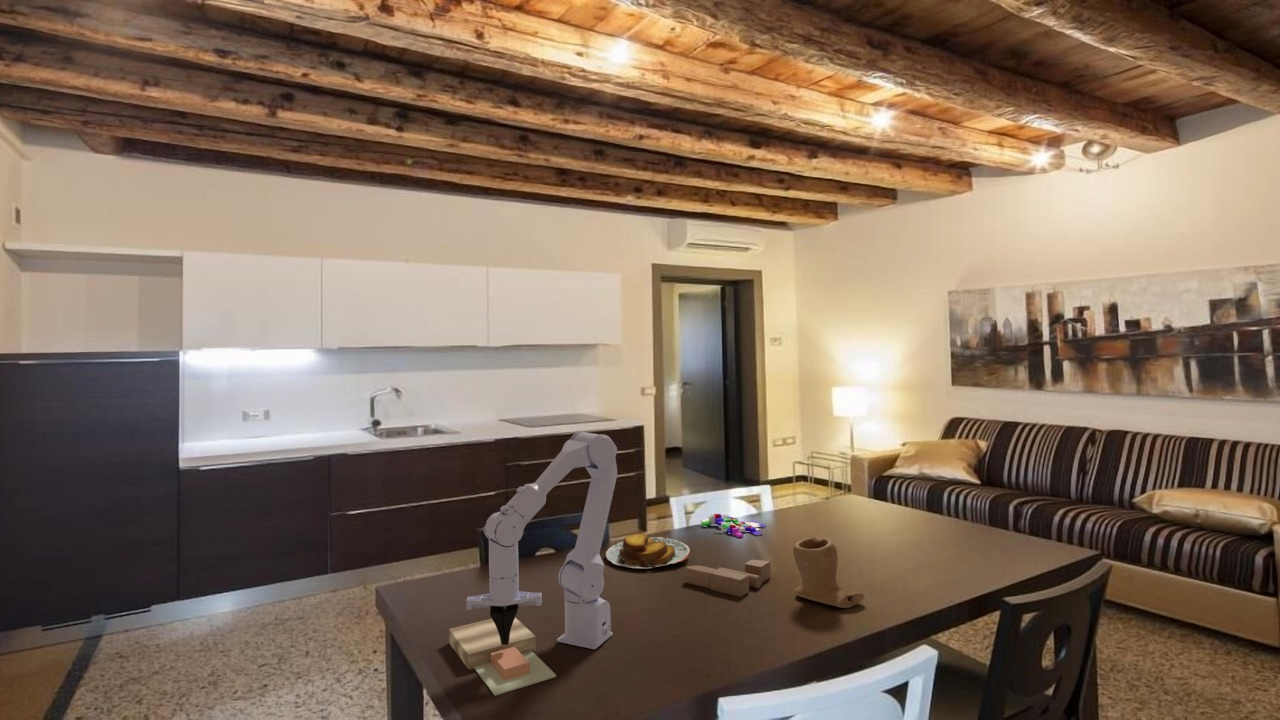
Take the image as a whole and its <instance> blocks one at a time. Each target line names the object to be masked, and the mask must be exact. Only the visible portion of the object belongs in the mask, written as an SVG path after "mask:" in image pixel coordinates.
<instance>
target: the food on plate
mask: <svg viewBox="0 0 1280 720" xmlns="http://www.w3.org/2000/svg"><path fill="white" fill-rule="evenodd" d="M690 553H691V549H690V546H688V545H687V544H685V543H684V542H682V541H679V540H677V539H674V538H673V539H672V538H669V537H662V536H657V537H656V536H650V537H648V535H647V534H646V533H645V534H643V533H636V534H629V535H627V536H625V537H624V539H623V540H622V541H621V542H618V543H616V544H613V545H611V546H610V547H609V548H608V549H607V550H606V551H605V558H606V559H607V561H610V562H611V564H613V565H616V566H620V567H621V566H622V567H626V568H632V569H646V570H647V569H653V568H657V567H662V566H667V565H670V564H672V565H674V564H677V563H679V562H680V563H681V562H684V564H687V563H688V562H687V561H686V560H687V559H688V558H689V556H690ZM618 557H622V559H624V561H625V563H623V564H621V563H622V562H621V561H620V562H621V563H620V562H618ZM622 559H621V560H622ZM624 561H623V562H624ZM650 565H651V566H655V567H648V566H650ZM643 566H644V567H643Z"/></svg>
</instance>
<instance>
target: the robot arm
mask: <svg viewBox="0 0 1280 720" xmlns="http://www.w3.org/2000/svg"><path fill="white" fill-rule="evenodd" d="M617 452H618V447H617V446H616V444H615V442H614V441H613V440H612V439H611V437H610V436H609V435H607V434H601V433H600V434H598V433H591V432H586V431H583V430H581V431H577V432H575V433H574V434H573V435H572V436H571V437H570V439H568V440H567V441H566V442H565V443H564V444H563V446H562V449H561V451H560V452H559V453H558V454H557V455H556V456H555V458H554V459H553V460H552V461H551V463H550V464H549V465H548V466H547V467H546V468H545V470H544V471H543V472H542V473H541V475H540V476H539V477H538V478H537V479H536V480H535V482H532V483H525V484H524V485H523V486H520V485H519V487H517V489H516V493H515V495H513V497H511V499H510V500H509V501H507V503H506V504H505V505H502V506H501V507H500V509H499V510H500V511H497V512H494V513H493V514H491V515H490V516H489V517H488V518H487V520H486V523H485V525H484V526H483V528H482V531H483V534H484V535H485V537H486V538H487V539H488V574H489V576H488V577H489V579H488V582H489V583H488V584H489V593H486V594H485V593H484V594H478V595H474V596H467V597H466V600H465V601H466V602H465V603H466V604H465V605H466V611H471V610H473V609H483V608H484V609H486V608H489V610H490V612H489V615H490V619H492V620H493V621H494V623H495V625H496V627H497V630H498V633H499V636H500V640H501V645H508V644H509V637H510V630H511V627H512V624H513V621H514V619H515V618H516V616H517V613H518V610H519V606H534V605H535V607H539V606H542V603H543V601H542V597H543V596H542V593H543V592H529V591H520V584H519V582H520V581H519V575H520V574H519V541H521V539H522V538H523V535H524V530H525V528H526V527H527V525H528V524H529V522H530V521H531V520H532V519H533V518H534V516H536V514H538V512H539V511H540V510H541V509H542V508H543V507H544V506H545V505H546V501H547V494H549V493H550V492H551V490H552V489H553V488H554V487H556V486H557V485H558V484H559V482H561V480H563V479H564V478H565V477H566V476H567V475H568V474H569V473H570V472H571V471H572V470H573V469H576V468H585V469H586V471H587V473H588V474H589V476H590V477H591V478H590V481H589V486H588V491H587V495H586V499H585V504H584V509H583V512H582V517H581V521H580V525H579V529H578V533H577V534H578V535H577V538H576V541H575V542H576V543H575V546H574V548H573V549H572V550H571V551H569V552H568V553H567V554H566V557H565V561H564V563H563V565H562V567H561V568H560V570H559V572H558V576H557V577H558V583H559V585H560V586H561V587H562V588H563V595H564V628H565V629H564V634H561V636H560V637H558V638H557V639H556V641H557V642H558V643H562V644H568V645H573V646H577V647H579V648H580V647H581V648H587V649H590V650H597V649H598V647H600V646H601V645H602V644H604V642H605V641H607V640H608V639H609V638H610V637H612V636H613V632H612V627H611V626H612V625H611V623H612V621H611V620H612V619H611V618H612V617H611V616H612V615H611V605H610V603H609V601H608V600H605V599H603V598H602V597H600V595H601V594H602V593H603V590H604V587H605V579H604V570H605V564H604V562H603V560H602V557H601V555H600V553H601V548H602V544H603V539H604V535H605V531H606V526H607V522H608V518H609V513H610V509H611V505H612V500H613V496H614V493H615V492H614V491H615V486H616V481H617V478H618V465H617V459H616V456H617Z"/></svg>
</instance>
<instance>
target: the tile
mask: <svg viewBox="0 0 1280 720" xmlns="http://www.w3.org/2000/svg"><path fill="white" fill-rule="evenodd" d="M490 663H491V664H492V666H493V667H494V668H495V669H496V670H497V672H498V673H499V674H500V675H501V677H502V678H503V679H504V680H507V679H511V678H514V677H517V676H521V675H524V674H527V673H530V662H529V661H528V660H527V659H526V658H525V657H524V656H523V655H522V654H521V653H520V652H519V651H518V650H517V649H516V648H515V647H511V648H507V649H503V650H500V651H496V652H492V653H490Z"/></svg>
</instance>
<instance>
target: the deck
mask: <svg viewBox="0 0 1280 720" xmlns="http://www.w3.org/2000/svg"><path fill="white" fill-rule="evenodd" d="M448 643H449V645H450V646H451V648H452V649H453V650H454V652H455V653H456V654H457V656H458V657H459V659H460V660H461V661H462V663H463V664H464V665H465V667H466V668H467V669H468V670H469V671H470V670H475V669H474V667H476V666H480V665H483V664H487V663H490V653H492V652H496V651H500V650H503V649H507V648H511V647H515V648H516V649H517V650H518V651H519V652H520V653H521V654H522V653H526V652H529V651H532V652H533V651H534V652H537V637H536V635H535V634H534V633H533V632H532V631H531V630H529V629H528V628H527V627H526V626H525V625H524V624H523V623H522V622H521V621H520V620H519V619H518V618H517V617H515V619H514V621H513V624H512V627H511V630H510V637H509V644H508V645H501V640H500V636H499V633H498V630H497V627H496V625H495V623H494V621H493V620H492V618H489V619H485V620H480V621H476V622H472V623H469V624H464V625H463V624H462V625H460V626H455V627H452V628H448ZM534 652H533V653H534Z"/></svg>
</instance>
